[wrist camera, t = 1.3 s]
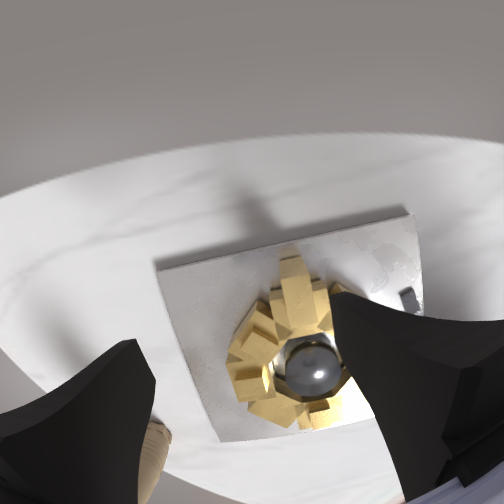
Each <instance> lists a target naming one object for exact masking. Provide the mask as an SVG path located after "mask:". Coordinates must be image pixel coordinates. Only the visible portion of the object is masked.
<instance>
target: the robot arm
mask: <svg viewBox="0 0 504 504" xmlns="http://www.w3.org/2000/svg"><path fill="white" fill-rule="evenodd" d="M329 300H330V307H331V315H332V323H333V331H334V340H335V344H336V347H337V349H338V351H339V354H340V356H341V358H342V361H343V363H344V365H345V366H346V368H347V370H348V371H349V373H350V375H351V376H352V378H353V380H354V381H355V383H356V385H357V386H358V388H359V390H360V391H361V393H362V395H363V396H364V398H365V400H366V401H367V403H368V404H369V406H370V408H371V410H372V412H373V414H374V416H375V418H376V420H377V423H378V425H379V427H380V430H381V432H382V434H383V437H384V439H385V442H386V444H387V447H388V450H389V452H390V455H391V457H392V460H393V463H394V466H395V469H396V472H397V475H398V478H399V481H400V484H401V487H402V491H403V494H404V497H405V501H406V503H405V504H504V320H495V321H455V320H444V319H436V318H430V317H425V316H420V315H415V314H411V313H407V312H404V311H400V310H397V309H394V308H391V307H388V306H385V305H382V304H379V303H376V302H374V301H371V300H369V299H366V298H363V297H361V296H358V295H356V294H353V293H350V292H347V291H343V292H340V293H336V294H333V295H329ZM155 385H156V379H155V377H154V375H153V374H152V372H151V370H150V368H149V366H148V364H147V362H146V360H145V357H144V355H143V353H142V351H141V349H140V347H139V345H138V343H137V341H136V339H130V340H124V341H121V342H119V343H117V344H116V345H114V346H113V347H111V348H110V349H109V350H107V351H106V352H105V353H103V354H102V355H101V356H100V357H98V358H97V359H96V360H94V361H93V362H92V363H91V364H89V365H88V366H87V367H86V368H84V369H83V370H82V371H80V372H79V373H78V374H76V375H75V376H74V377H72V378H71V379H69V380H68V381H67V382H65V383H64V384H62V385H61V386H59V387H58V388H56V389H54V390H53V391H51V392H49V393H48V394H46V395H44V396H42V397H40V398H38V399H37V400H34V401H32V402H30V403H28V404H26V405H24V406H22V407H19V408H17V409H14V410H11V411H9V412H5V413H2V414H0V504H138V476H139V465H140V456H141V450H142V445H143V442H144V438H145V434H146V430H147V426H148V422H149V418H150V414H151V411H152V407H153V402H154V395H155Z"/></svg>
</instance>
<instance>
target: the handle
mask: <svg viewBox="0 0 504 504" xmlns="http://www.w3.org/2000/svg"><path fill="white" fill-rule="evenodd" d="M171 440H172V434H171V433H170V432H169V431H168V430H167V429H166V427H165V426H164V425H162V424H156V423H154V422H149V423H148V426H147V430H146V434H145V438H144V442H143V445H142V450H141V456H140V465H139V476H138V504H146V503H147V501H148V499H149V497H150V495H151V493H152V491H153V489H154V487H155V485H156V483H157V481H158V479H159V477H160V475H161V472H162V470H163V467H164V464H165V461H166V458H167V454H168V449H169V444H171Z"/></svg>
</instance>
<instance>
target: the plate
mask: <svg viewBox="0 0 504 504" xmlns="http://www.w3.org/2000/svg"><path fill="white" fill-rule="evenodd" d="M301 256H302V258H303V261H304V263H305V265H306V267H307V270H308V272H309V275H310V280H311V282H316V281H320V280H322V281H323V283H324V284H325V286H326V288H327V292H328V294H329V292H330V291H331V290H332V288H333V287H334V285H335V284H336V282H337V283H338V284H340V285H341V286H343V287H345V288H346V289H348V290H349V291H351V292H352V293H354V294H356V295H358V296H361V297H363V298H366V299H369V300H371V301H374V302H376V303H379V304H382V305H385V306H388V307H391V308H394V309H397V310H400V311H404V312H407V313H411V314H415V315H420V316H424V312H423V287H422V272H421V260H420V250H419V241H418V233H417V225H416V218H415V215H411V214H408V215H404V216H399V217H395V218H390V219H386V220H381V221H377V222H372V223H368V224H363V225H359V226H354V227H350V228H345V229H341V230H336V231H332V232H327V233H323V234H318V235H314V236H309V237H305V238H300V239H296V240H291V241H287V242H283V243H278V244H274V245H269V246H265V247H260V248H256V249H251V250H247V251H242V252H238V253H234V254H229V255H225V256H220V257H216V258H211V259H207V260H203V261H198V262H194V263H189V264H185V265H180V266H176V267H172V268H167V269H163V270H160V271H159V272H157V273H156V274H157V277H158V281H159V284H160V287H161V290H162V294H163V297H164V300H165V303H166V306H167V309H168V312H169V315H170V318H171V321H172V324H173V327H174V329H175V332H176V335H177V338H178V341H179V343H180V346H181V349H182V352H183V354H184V357H185V359H186V362H187V365H188V367H189V370H190V372H191V375H192V377H193V380H194V382H195V385H196V387H197V390H198V392H199V394H200V397H201V399H202V402H203V404H204V406H205V408H206V411H207V413H208V415H209V418H210V420H211V422H212V424H213V426H214V429H215V431H216V433H217V435H218V437H219V439H220V441H221V442H235V441H247V440H257V439H266V438H274V437H281V436H288V435H294V434H300V433H306V432H311V431H316V430H321V429H326V428H331V427H335V426H340V425H344V424H348V423H352V422H356V421H360V420H363V419H367V418H370V417H374V414H373V412H372V410H371V408H370V406H369V404H368V403H366V405H365V406H364V407H363V408H362V409H361V410H360V411H359V412H358V413H357V414H354V413H352V412H349V411H347V410H344V409H343V410H344V421H340V422H336V423H332V426H330V427H325V428H320V429H315V430H313V429H312V428H307V429H301V430H299V426H298V421H297V419H296V420H295V421H294V422H293V423H292V424H291V425H290V426H289V427H288V428H287V429H286V428H284V427H282V426H279V425H277V424H275V423H272V422H270V421H268V420H265V419H263V418H261V417H259V416H257V415H254V414H252V413H250V412H248V411H247V408H248V402H241V403H239V402H238V399H237V396H236V394H235V391H234V388H233V385H232V382H231V379H230V376H229V373H228V370H227V367H226V364H225V363H226V360H227V356H228V353H229V352H227V350H228V347H229V344H230V340H231V338H232V336H233V335H234V333H235V332H236V331H237V329H238V328H239V326H240V325H241V323H242V322H243V320H244V319H245V317H246V316H247V314H248V313H249V311H250V310H251V308H252V307H253V305H254V304H255V303H256V301H257V300H259V301H260V302H262V303H264V304H265V305H267V306H269V307H270V308H271V306H270V302H269V296H270V291H275V290H279V289H282V285H281V281H280V269H279V261H283V260H287V259H292V258H296V257H301ZM272 365H273V369H274V373H275V377H277V378H279V379H281V380H283V381H285V382H286V383H287V385H288V387H289V388H290V389H291V390H292V391H293V392H295V393H297V394H299V395H302V396H309V397H311V396H318V395H322V394H324V393H326V392H328V391H330V390H331V389H332V388H333V387H334V386H335V385H336V384H337V383H338V381H339V379H340V377H341V369H342V368H343V367H344V366H345V365H344V363H343V361H342V358H341V356H340V354H339V351H338V349H337V347H336V344H335V340H334V337H333V336H331V335H329V334H327V333H326V332H320V333H316V334H311V335H306V336H302V337H297V338H292V339H288V340H287V342H286V343H285V344H284V346H283V347H282V348H281V349H280V351H279V352H278V353H277V355H276V356H275V357H274V358H273V360H272Z"/></svg>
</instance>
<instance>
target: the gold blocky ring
mask: <svg viewBox="0 0 504 504" xmlns="http://www.w3.org/2000/svg"><path fill="white" fill-rule="evenodd" d="M279 269H280V281H281V285H282V289H279V290H275V291H270V296H269V302H270V306H271V308H270V307H269V306H267V305H265V304H264V303H262V302H260V301H259V300H257V301H256V303H255V304H254V305H253V307H252V308H251V310H250V311H249V313H248V314H247V316H246V317H245V319H244V320H243V322H242V323H241V325H240V326H239V328H238V329H237V331H236V332H235V333H234V335H233V336H232V338H231V340H230V344H229V347H228V350H227V352H229V353H228V356H227V360H226V363H225V364H226V367H227V370H228V373H229V376H230V379H231V382H232V385H233V388H234V391H235V394H236V396H237V399H238V402H239V403H241V402H248V408H247V411H248V412H250V413H252V414H254V415H257V416H259V417H261V418H263V419H265V420H268V421H270V422H272V423H275V424H277V425H279V426H282V427H284V428H286V429H287V428H288V427H289V426H290V425H291V424H292V423H293V422H294V421H295V420H296V419H297V421H298V426H299V430H301V429H307V428H312V429H313V430H315V429H320V428H325V427H330V426H332V423H336V422H340V421H344V410H347V411H349V412H352V413H354V414H357V413H358V412H359V411H360V410H361V409H362V408H363V407H364V406H365V405H366V403H367V401H366V400H365V398H364V396H363V395H362V393H361V391H360V390H359V388H358V386H357V385H356V383H355V381H354V380H353V378H352V376H351V375H350V373H349V371H348V370H347V368H346V366H344V367H343V368H342V369H341V377H340V379H339V381H338V383H337V384H336V385H335V386H334V387H333V388H332V389H331V390H330V391H328V392H326V393H324V394H322V395H318V396H311V397H309V396H302V395H299V394H297V393H295V392H293V391H292V390H291V389H290V388H289V387H288V385H287V383H286V382H285V381H283V380H281V379H279V378H277V377H275V373H274V369H273V365H272V360H273V358H274V357H275V356H276V355H277V353H278V352H279V351H280V349H281V348H282V347H283V346H284V344H285V343H286V342H287V340H288V339H292V338H297V337H302V336H306V335H311V334H316V333H320V332H326V333H327V334H329V335H331V336H333V337H334V331H333V323H332V315H331V307H330V300H329V295H333V294H336V293H340V292H343V291H347V292H350V293H352V292H351V291H349V290H348V289H346V288H345V287H343V286H341V285H340V284H338V283H337V282H336V284H335V285H334V287H333V288H332V290H331V291H330V292H329V294H328V292H327V288H326V286H325V284H324V283H323V281H322V280H320V281H316V282H311V280H310V275H309V272H308V270H307V267H306V265H305V263H304V261H303V258H302V256H301V257H296V258H292V259H287V260H283V261H279ZM353 294H354V293H353ZM343 409H344V410H343Z"/></svg>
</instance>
